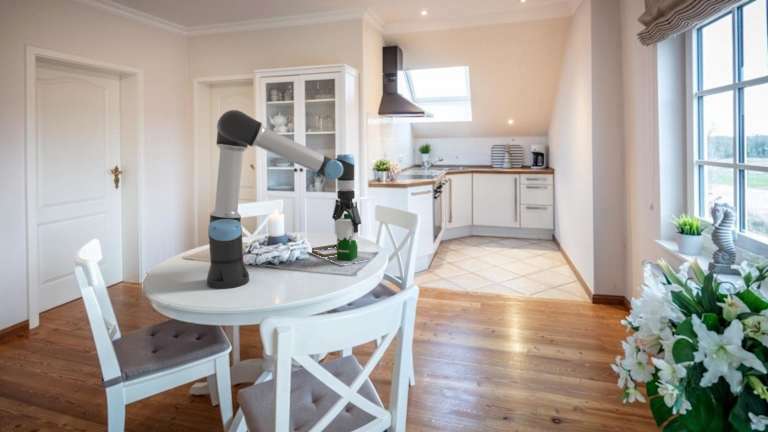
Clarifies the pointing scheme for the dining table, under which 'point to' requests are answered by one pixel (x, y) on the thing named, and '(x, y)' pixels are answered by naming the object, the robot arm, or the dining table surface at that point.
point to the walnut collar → (324, 248)
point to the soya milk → (345, 239)
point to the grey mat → (347, 261)
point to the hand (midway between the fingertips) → (346, 237)
